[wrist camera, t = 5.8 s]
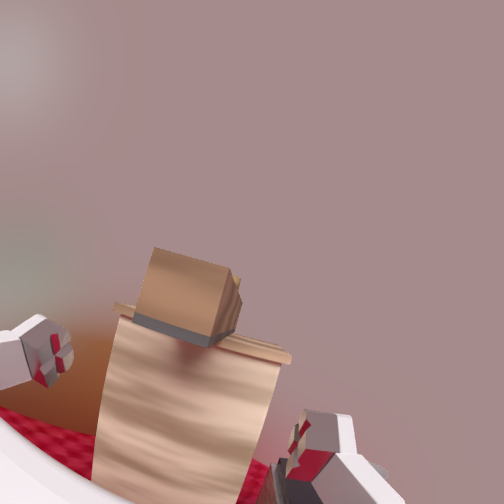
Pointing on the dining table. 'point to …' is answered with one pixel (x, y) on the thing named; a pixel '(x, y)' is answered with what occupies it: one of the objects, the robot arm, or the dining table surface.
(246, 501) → the dining table surface
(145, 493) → the shelf block
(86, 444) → the dining table surface
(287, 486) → the grey box
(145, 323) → the bar
